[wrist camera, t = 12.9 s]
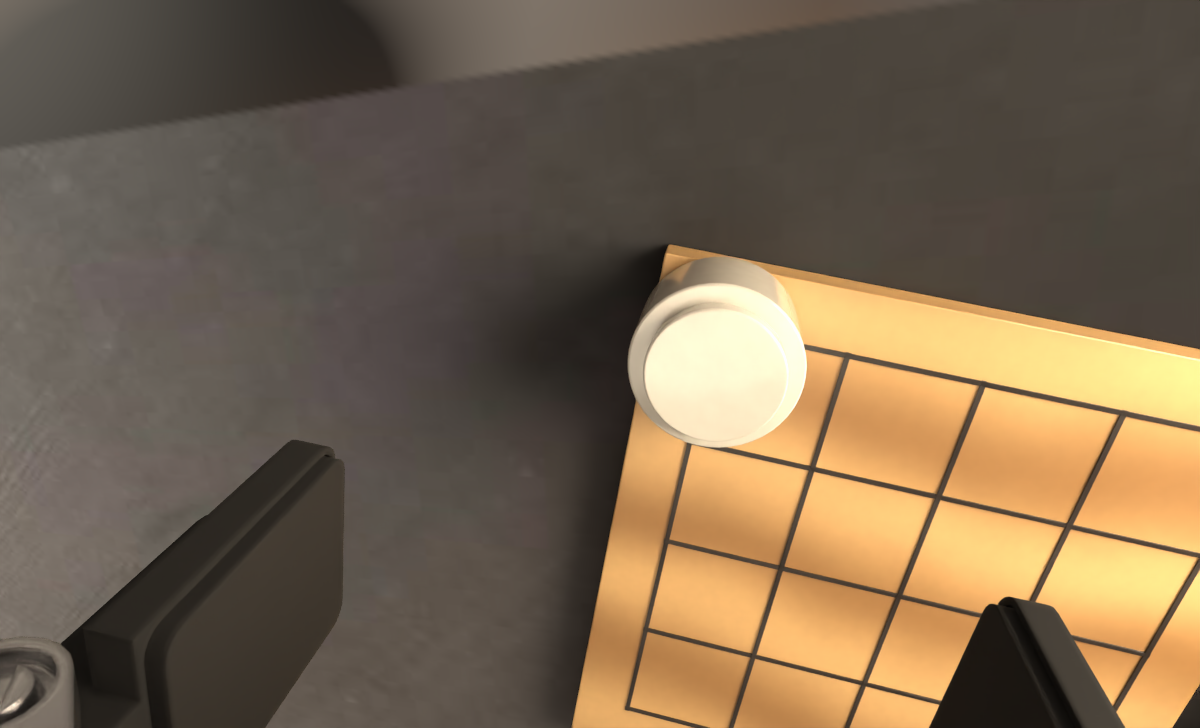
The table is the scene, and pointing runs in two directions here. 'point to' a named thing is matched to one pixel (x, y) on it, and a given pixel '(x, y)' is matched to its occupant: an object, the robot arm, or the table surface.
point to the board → (906, 522)
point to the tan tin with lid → (718, 353)
